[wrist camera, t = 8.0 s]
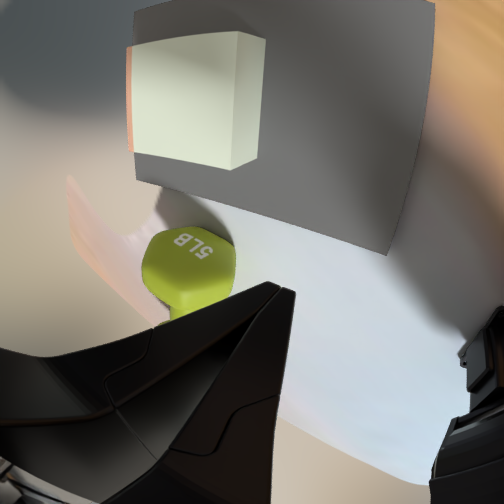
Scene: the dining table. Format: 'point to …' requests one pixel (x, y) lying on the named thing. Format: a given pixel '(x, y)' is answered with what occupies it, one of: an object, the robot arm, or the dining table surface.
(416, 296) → the dining table surface
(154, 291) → the dumbbell
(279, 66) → the mat
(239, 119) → the slab
